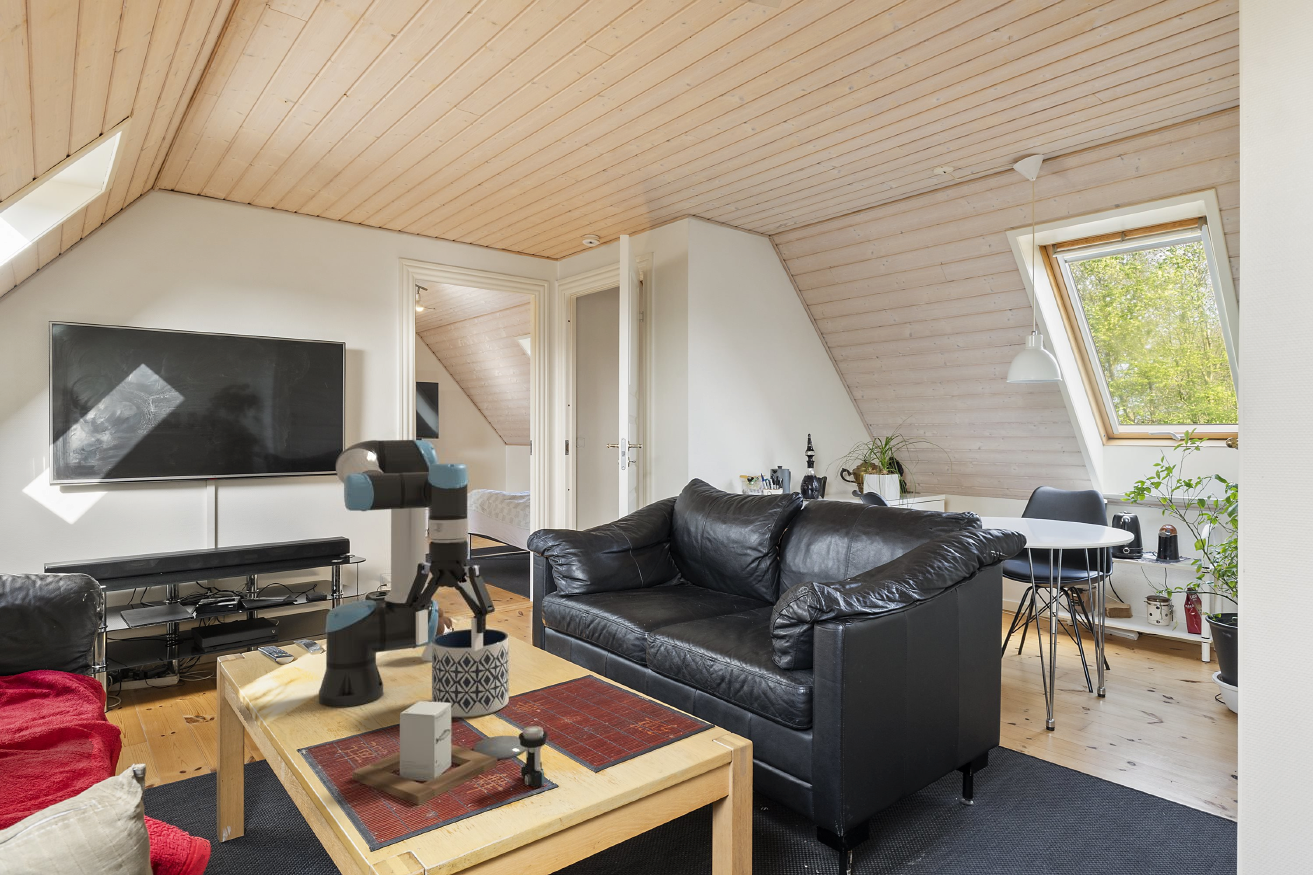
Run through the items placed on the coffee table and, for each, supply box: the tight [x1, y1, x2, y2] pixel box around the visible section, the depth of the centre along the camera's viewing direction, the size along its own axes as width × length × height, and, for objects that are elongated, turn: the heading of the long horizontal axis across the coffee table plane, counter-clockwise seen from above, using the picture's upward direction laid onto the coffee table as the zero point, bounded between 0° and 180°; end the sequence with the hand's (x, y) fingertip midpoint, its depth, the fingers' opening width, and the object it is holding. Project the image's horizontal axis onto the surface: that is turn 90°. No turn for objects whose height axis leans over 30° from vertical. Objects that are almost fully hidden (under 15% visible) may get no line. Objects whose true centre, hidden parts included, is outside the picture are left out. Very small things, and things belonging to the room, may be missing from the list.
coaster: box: [473, 735, 526, 761], centre depth 157 cm, size 11×11×1 cm
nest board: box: [352, 743, 498, 806], centre depth 146 cm, size 19×19×2 cm
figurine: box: [420, 607, 453, 663], centre depth 224 cm, size 10×9×15 cm
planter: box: [431, 628, 510, 719], centre depth 183 cm, size 18×18×16 cm
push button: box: [518, 725, 549, 789], centre depth 142 cm, size 7×5×10 cm
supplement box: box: [399, 700, 452, 782], centre depth 146 cm, size 7×7×13 cm
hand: (449, 646), depth 151 cm, fingers open, 13 cm apart
